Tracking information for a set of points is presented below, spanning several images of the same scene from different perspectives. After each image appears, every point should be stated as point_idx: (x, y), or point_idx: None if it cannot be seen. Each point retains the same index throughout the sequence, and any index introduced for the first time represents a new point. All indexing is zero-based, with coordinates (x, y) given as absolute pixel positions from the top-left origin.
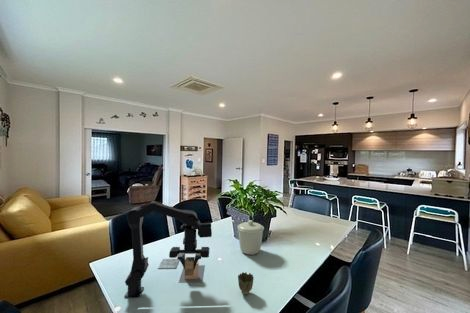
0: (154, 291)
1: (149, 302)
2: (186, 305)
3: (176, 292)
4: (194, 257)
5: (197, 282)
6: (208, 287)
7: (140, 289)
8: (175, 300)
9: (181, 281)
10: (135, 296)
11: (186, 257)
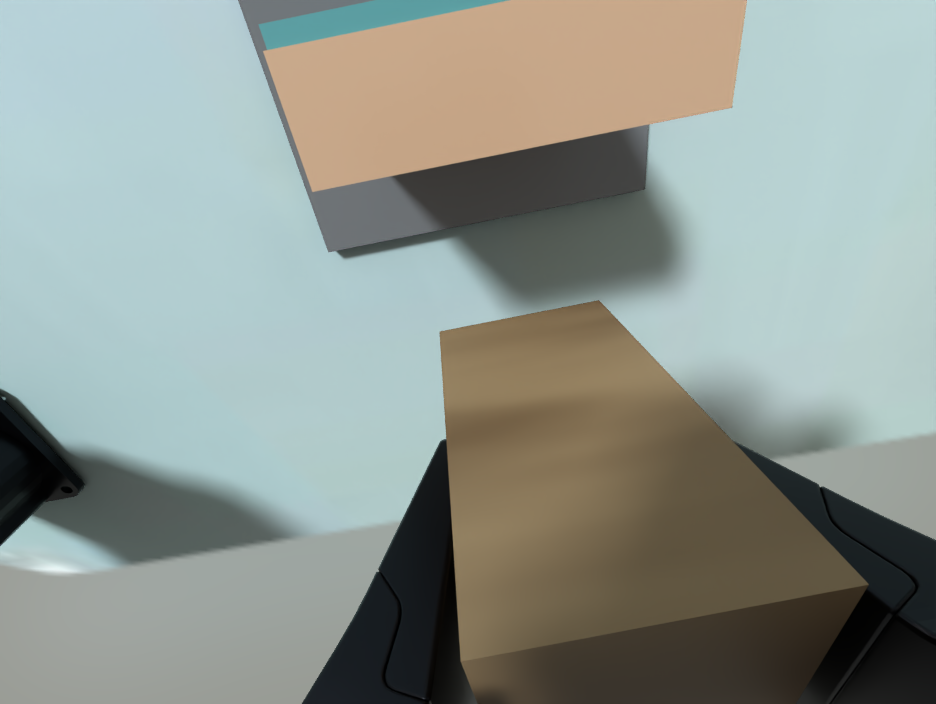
0: (157, 402)
1: (234, 505)
2: None
3: (387, 377)
4: (849, 571)
5: (578, 201)
6: (710, 250)
7: (9, 470)
8: (427, 456)
9: (354, 216)
10: (55, 497)
11: (475, 672)
